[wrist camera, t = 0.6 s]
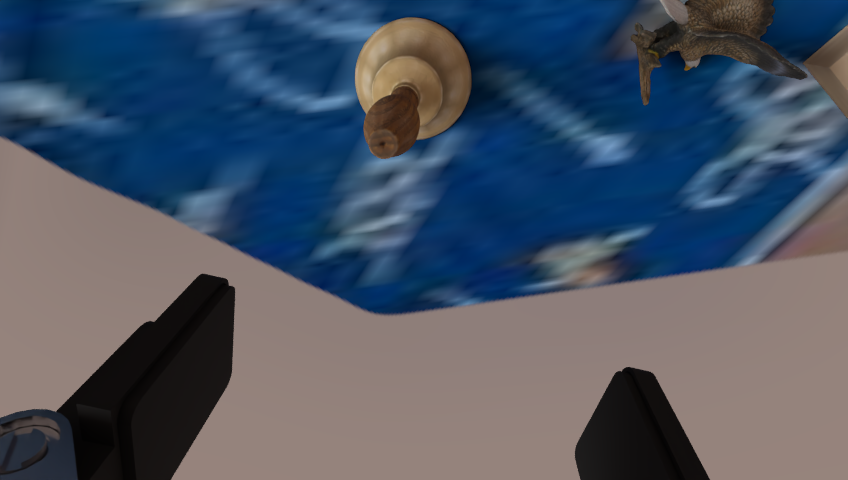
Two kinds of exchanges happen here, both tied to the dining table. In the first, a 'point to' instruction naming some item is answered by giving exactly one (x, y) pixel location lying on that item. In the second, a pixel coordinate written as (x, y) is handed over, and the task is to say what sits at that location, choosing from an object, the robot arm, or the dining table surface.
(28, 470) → the robot arm
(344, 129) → the dining table surface
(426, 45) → the hand bell
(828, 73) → the tan wooden tray
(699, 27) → the brown bird figurine
